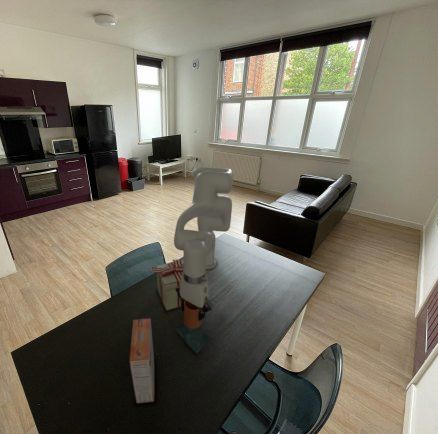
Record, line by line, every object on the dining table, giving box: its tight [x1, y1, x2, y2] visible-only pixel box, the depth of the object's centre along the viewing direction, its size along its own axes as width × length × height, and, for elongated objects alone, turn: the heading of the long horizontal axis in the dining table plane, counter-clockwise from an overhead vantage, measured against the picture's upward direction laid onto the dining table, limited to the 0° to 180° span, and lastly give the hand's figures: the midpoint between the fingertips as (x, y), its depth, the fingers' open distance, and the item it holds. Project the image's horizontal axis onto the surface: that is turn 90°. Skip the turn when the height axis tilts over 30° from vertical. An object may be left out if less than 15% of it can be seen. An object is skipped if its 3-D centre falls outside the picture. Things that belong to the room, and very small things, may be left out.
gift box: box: [151, 258, 183, 311], centre depth 112 cm, size 17×18×17 cm
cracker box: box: [129, 317, 155, 404], centre depth 75 cm, size 14×6×21 cm, turn 5°
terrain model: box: [174, 324, 212, 354], centre depth 94 cm, size 13×8×2 cm, turn 40°
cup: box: [183, 300, 203, 329], centre depth 88 cm, size 7×7×9 cm
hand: (193, 313), depth 89 cm, fingers closed on cup, 6 cm apart
